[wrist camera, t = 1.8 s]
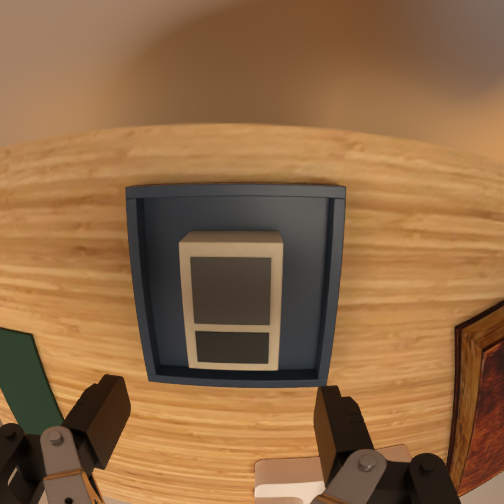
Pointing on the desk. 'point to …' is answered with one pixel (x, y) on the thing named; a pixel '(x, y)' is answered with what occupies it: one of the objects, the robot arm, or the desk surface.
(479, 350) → the book
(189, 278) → the beige rectangular block
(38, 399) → the mat
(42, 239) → the desk surface
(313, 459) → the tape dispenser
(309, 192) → the tray
